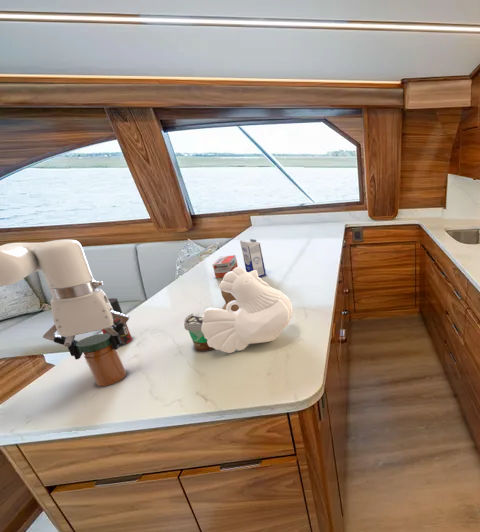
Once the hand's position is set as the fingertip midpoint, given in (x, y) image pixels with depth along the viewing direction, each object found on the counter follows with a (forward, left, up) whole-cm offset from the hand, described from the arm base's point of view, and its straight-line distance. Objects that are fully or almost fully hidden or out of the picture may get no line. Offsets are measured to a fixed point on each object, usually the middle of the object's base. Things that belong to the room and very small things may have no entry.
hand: (98, 351), depth 79 cm
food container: (+22, +2, -9) cm, 24 cm away
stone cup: (+35, +24, -9) cm, 44 cm away
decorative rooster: (+36, -4, -9) cm, 38 cm away
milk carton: (+49, +63, -9) cm, 81 cm away
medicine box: (+37, +79, -9) cm, 88 cm away
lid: (0, 0, +3) cm, 3 cm away
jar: (0, 0, -9) cm, 9 cm away
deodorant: (-1, +23, -9) cm, 25 cm away
